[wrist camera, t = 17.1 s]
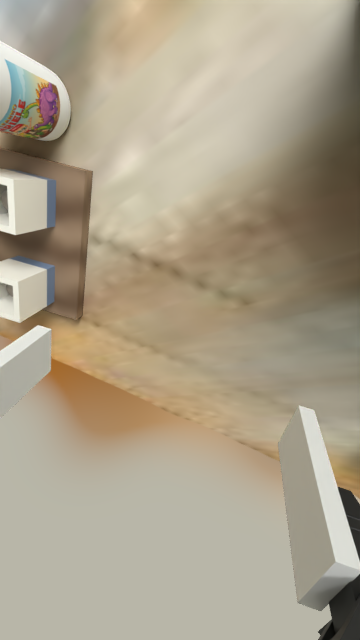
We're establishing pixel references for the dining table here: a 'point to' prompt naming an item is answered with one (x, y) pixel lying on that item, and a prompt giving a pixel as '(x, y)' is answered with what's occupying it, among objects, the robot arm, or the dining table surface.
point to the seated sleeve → (27, 202)
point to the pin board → (55, 230)
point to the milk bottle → (31, 98)
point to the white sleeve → (25, 287)
